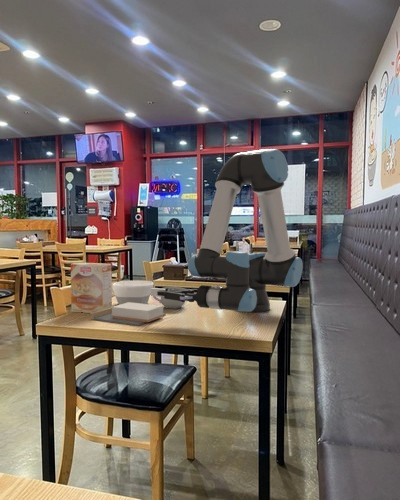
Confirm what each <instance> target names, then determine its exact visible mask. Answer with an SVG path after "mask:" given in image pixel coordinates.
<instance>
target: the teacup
mask: <svg viewBox="0 0 400 500" xmlns="http://www.w3.org/2000/svg"><path fill="white" fill-rule="evenodd" d="M165 288H168V290H169V289H174V288H176V289H186V288H184V287H180V286H165V287H162V288H161V289H165ZM152 297H153V299H154V300H156V301H158V303H160V304H161V305H162V306H163V307H164V308H166V309H168V310H169V309H171V310H172V309H173V310H174V309H180V308H182V307H183V306H184V305H185V303H186V301H185V302H181V301H176V300H170V299H165V298H164V297H160V298H158V297H157V296H152Z"/></svg>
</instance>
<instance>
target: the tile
mask: <svg viewBox="0 0 400 500" xmlns="http://www.w3.org/2000/svg"><path fill="white" fill-rule="evenodd" d="M163 314H164V305H161V304H160V305H158V304H150V303H149V304H148V303H147V304H141V303H131V302H128V303H124V304H120V305H119V304H117V305H114V306H113V305H112V318H120V319H127V320H135V321H143V322H147V323H150V322H153V321H155V320H157V319H160V318H162V317H164V316H163Z"/></svg>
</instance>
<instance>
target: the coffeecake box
mask: <svg viewBox="0 0 400 500" xmlns="http://www.w3.org/2000/svg"><path fill="white" fill-rule="evenodd" d="M112 278H113V277H112V263H101V262H100V263H98V262H96V263H95V262H73V263H71V264H70V295H71V296H70V297H71V298H70V299H71V300H70V301H71V305H70V306H71V312H72V313H81V312H83V314H91V313H93V312H96V311H100V310H103V309H107V308H110V307H113V304H112V303H113V297H112V296H113V293H112V292H113V291H112V290H113V287H112V285H113V283H112Z"/></svg>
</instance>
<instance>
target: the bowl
mask: <svg viewBox="0 0 400 500" xmlns="http://www.w3.org/2000/svg"><path fill="white" fill-rule="evenodd" d="M154 284H155V283H154V282H153V281H152V280H121V281H116V282H114V283H112V290H113V293H114V296H115V298H116V301H117V305H120V304H124V303H128V302H131V303H141V304H148V303H149V299H150V297H151V288H154Z"/></svg>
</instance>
